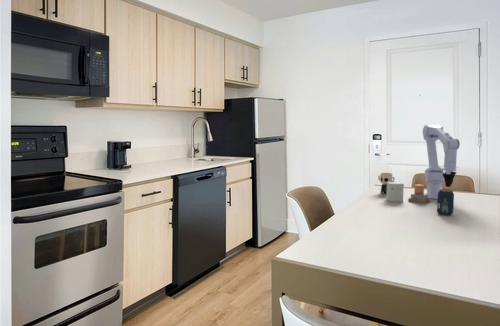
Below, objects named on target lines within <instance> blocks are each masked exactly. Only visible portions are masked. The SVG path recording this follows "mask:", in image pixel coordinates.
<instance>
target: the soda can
mask: <svg viewBox="0 0 500 326" xmlns="http://www.w3.org/2000/svg"><path fill="white" fill-rule="evenodd" d="M454 201H455V194H454V191H453V190H451V189H445V188H442V189H441V190H439V192H438V199H437V202H436V203H437V204H436V205H437V206H436V212H437V215H440V216H446V217H450V216H453V214H454V204H455V203H454Z"/></svg>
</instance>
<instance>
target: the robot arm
mask: <svg viewBox="0 0 500 326" xmlns="http://www.w3.org/2000/svg"><path fill="white" fill-rule="evenodd" d="M422 136H423V140H425V142H426V148H427V149H426V151H427V159H428V166H429V167H428V168H426V169H425V170H424V181H425V182H426V183H427V186H426V194H428V198H431V199H437V200H438V192H439V190H441V189H443V185H442V184H443V183H445V187H446V188H447V187H448V188H450V187H451V186H452V185H453V183H454V179H455V176H456V174H457V155H458V150H459V148H460V139H458V138H453V137H452V135H450V134H449V132H445V131H444V126H443V125H442V124H425V125H424V126H423V128H422ZM438 140H439V142H440V143H441V144H442V148H443V152H444V158H443V159H444V160H443V168H442V167H440V165H439V162H438V154H437V153H438V152H437V151H438V150H437V145H436V142H437V141H438Z"/></svg>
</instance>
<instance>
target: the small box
mask: <svg viewBox="0 0 500 326" xmlns="http://www.w3.org/2000/svg"><path fill="white" fill-rule="evenodd" d="M404 186H405V185H404V183H403V182H400V181H398V182H397V181H396V182H395V181H394V182H387V194H386V197H385V198H386V201H388V202H392V203H393V202H394V203H395V202H399V203H401V202H403V203H404Z"/></svg>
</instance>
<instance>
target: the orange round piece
mask: <svg viewBox="0 0 500 326" xmlns="http://www.w3.org/2000/svg"><path fill="white" fill-rule="evenodd" d="M413 193H414V194H418V195H423V194H424V193H425V185H424V184H414V192H413Z"/></svg>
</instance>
